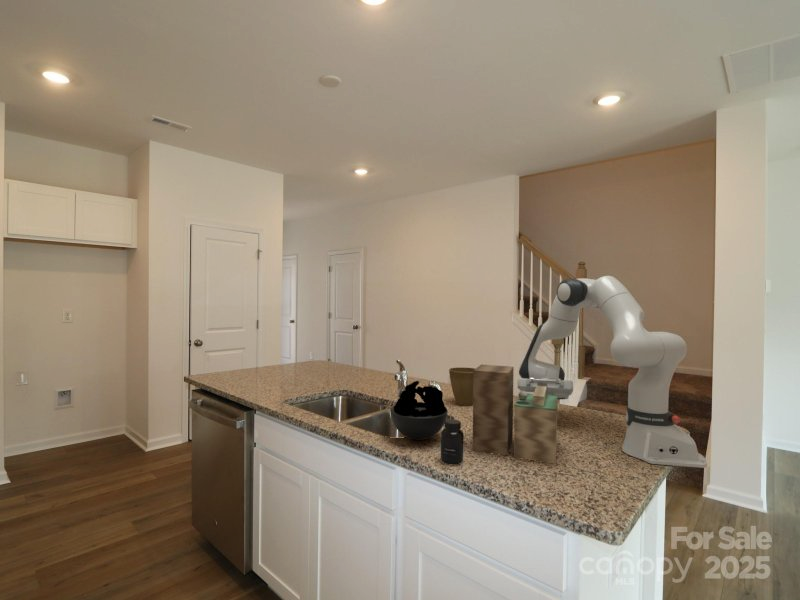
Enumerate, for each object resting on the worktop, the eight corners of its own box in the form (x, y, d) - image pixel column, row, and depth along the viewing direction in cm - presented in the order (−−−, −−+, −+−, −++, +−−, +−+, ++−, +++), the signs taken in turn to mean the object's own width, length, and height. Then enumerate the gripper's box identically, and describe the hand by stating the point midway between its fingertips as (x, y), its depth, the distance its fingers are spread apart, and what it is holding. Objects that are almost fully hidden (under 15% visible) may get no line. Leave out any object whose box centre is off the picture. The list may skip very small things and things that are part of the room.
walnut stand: (512, 442, 141) (513, 366, 141) (507, 456, 129) (508, 373, 129) (480, 438, 145) (481, 364, 145) (472, 451, 133) (473, 370, 133)
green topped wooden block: (556, 444, 140) (557, 387, 140) (555, 464, 123) (556, 399, 123) (520, 439, 145) (520, 384, 144) (513, 457, 128) (514, 395, 128)
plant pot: (483, 408, 185) (484, 372, 185) (450, 407, 185) (450, 372, 185) (478, 400, 200) (478, 367, 200) (447, 399, 200) (447, 366, 200)
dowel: (547, 392, 146) (547, 383, 146) (543, 407, 125) (543, 396, 125) (537, 391, 147) (537, 382, 147) (532, 406, 127) (532, 395, 127)
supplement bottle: (445, 466, 121) (445, 425, 121) (437, 457, 127) (437, 418, 127) (467, 464, 123) (467, 423, 123) (457, 455, 129) (458, 417, 129)
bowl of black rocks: (439, 451, 132) (440, 393, 132) (381, 444, 139) (382, 388, 139) (452, 432, 151) (453, 381, 151) (400, 426, 158) (401, 377, 158)
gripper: (518, 380, 170) (515, 370, 159) (571, 383, 164) (573, 373, 152) (517, 396, 168) (515, 387, 156) (572, 399, 161) (574, 390, 149)
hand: (544, 380), depth 154 cm, fingers open, 8 cm apart
